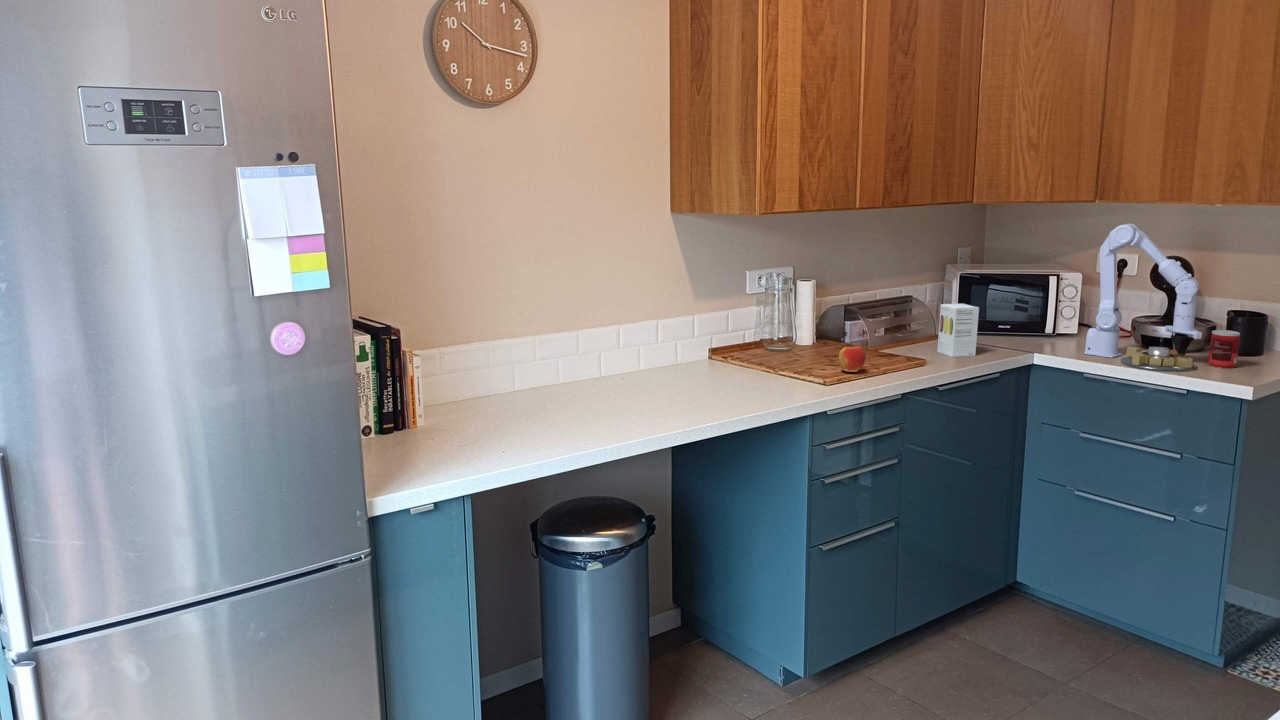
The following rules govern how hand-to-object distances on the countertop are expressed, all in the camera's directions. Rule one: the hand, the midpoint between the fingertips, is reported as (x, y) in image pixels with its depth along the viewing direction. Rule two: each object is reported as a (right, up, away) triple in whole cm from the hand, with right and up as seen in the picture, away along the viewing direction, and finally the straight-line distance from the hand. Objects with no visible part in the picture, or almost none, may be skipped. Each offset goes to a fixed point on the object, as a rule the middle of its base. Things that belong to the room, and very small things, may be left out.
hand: (1180, 357), depth 295 cm
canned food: (+11, -3, -4) cm, 12 cm away
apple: (-109, -5, -11) cm, 110 cm away
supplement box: (-67, +1, +17) cm, 69 cm away
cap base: (-9, -2, -2) cm, 9 cm away
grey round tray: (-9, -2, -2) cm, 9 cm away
